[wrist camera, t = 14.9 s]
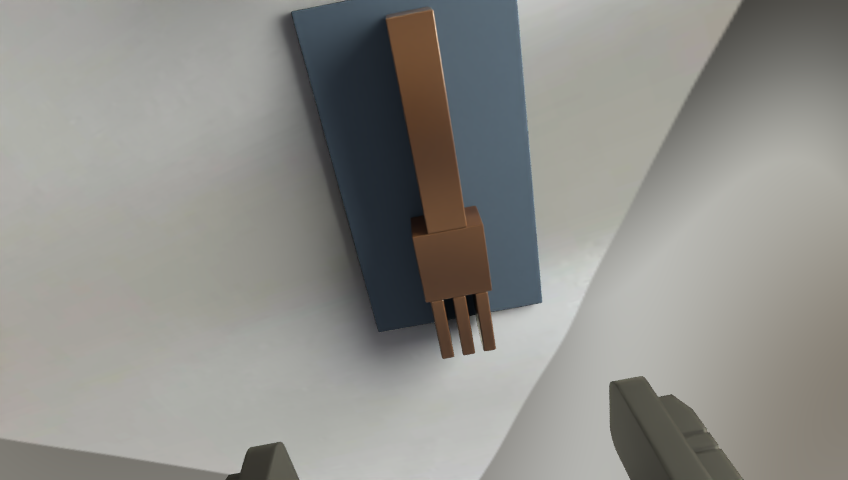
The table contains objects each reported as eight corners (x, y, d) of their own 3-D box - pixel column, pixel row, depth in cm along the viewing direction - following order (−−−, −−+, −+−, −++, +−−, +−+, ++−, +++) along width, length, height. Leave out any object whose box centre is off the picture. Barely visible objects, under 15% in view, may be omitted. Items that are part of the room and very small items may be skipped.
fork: (367, 18, 23) (365, 22, 21) (446, 2, 23) (452, 5, 21) (434, 334, 31) (438, 360, 29) (492, 323, 31) (500, 349, 29)
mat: (540, 299, 31) (542, 302, 30) (378, 328, 31) (378, 332, 31) (512, -33, 23) (514, -34, 22) (292, 11, 23) (290, 12, 22)
